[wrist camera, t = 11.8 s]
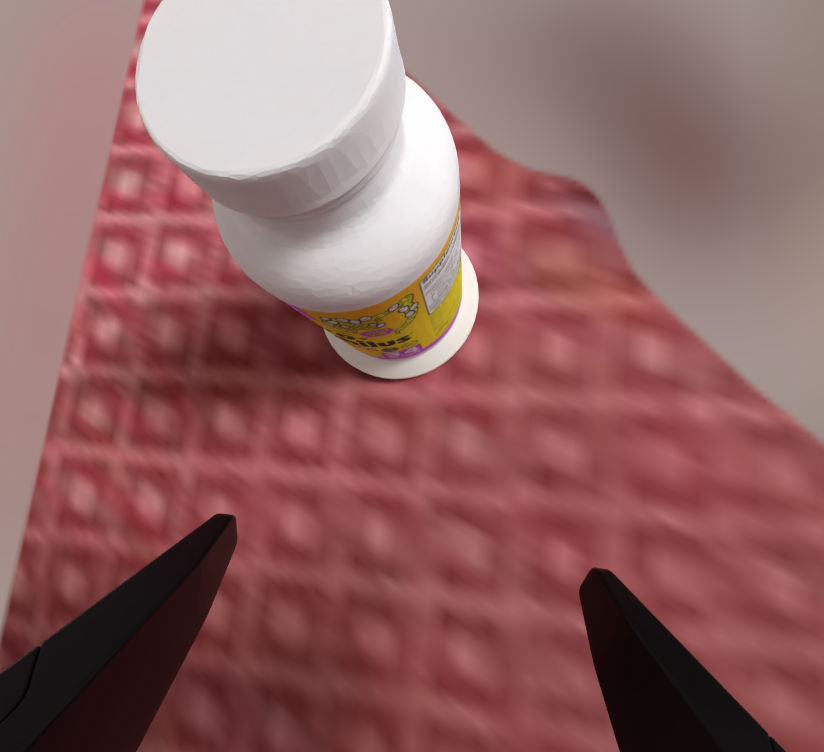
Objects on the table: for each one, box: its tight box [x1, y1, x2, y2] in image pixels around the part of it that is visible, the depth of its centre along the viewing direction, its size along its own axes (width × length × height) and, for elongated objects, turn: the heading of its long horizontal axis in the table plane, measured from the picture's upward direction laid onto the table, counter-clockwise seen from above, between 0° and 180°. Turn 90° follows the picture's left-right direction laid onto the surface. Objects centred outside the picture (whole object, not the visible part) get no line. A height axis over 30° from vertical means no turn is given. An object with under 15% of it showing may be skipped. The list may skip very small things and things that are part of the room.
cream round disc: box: [323, 248, 478, 380], centre depth 19 cm, size 8×8×1 cm
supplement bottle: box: [135, 0, 462, 361], centre depth 12 cm, size 7×7×13 cm
